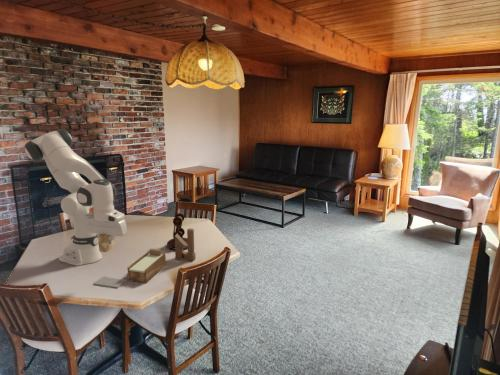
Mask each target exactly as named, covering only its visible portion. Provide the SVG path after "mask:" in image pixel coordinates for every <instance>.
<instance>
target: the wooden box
mask: <svg viewBox="0 0 500 375" xmlns="http://www.w3.org/2000/svg"><path fill="white" fill-rule="evenodd" d="M149 253H150V251H147V252H145V253H144V254H143V255H142V256H140V257H139V258H138V259H137V260H135V261H134V262H133V263H131V264H130V265H128V267H127V278H128V281H131V282H137V283H145V284H147V283H148V282H150V280H152V279H153V278H154V277H155V276H156V275H157V274H158V273H159V272H160V271H162V270H163V269H164V268H165V267H166V266H167V263H166V262H167V261H166V260H167V259H166V253H165V252H164V253H163V255H162V256H161V257H159V258H158V259H157V260H156V261H155V262H154V263H152V264H151V265H150V266H149V267H148V268H147V269H145V273H141V272H134V271H129V269H130V268H131V267H133V266H134V265H135V264H136V263H138V262H139V261H140V260H141V259H143V258H144V257H145V256H147V255H148V254H149Z"/></svg>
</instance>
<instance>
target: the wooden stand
mask: <svg viewBox="0 0 500 375" xmlns="http://www.w3.org/2000/svg"><path fill="white" fill-rule="evenodd" d="M186 232H187V233H186V236H187V237H186V238H187V242H188V244H187V243H186V242H185V241H184V240H183V239H182V238H181V237H180V236H179V235H178V234H176V235H175V249H174V251H175V252H174V253H175V254H174V255H175V256H174V258H175V260H177V261H178V260H180V261H181V260H183V261H188V262H189V261H191V262H194V261H195V260H196V252H195V229H194V228H188V229H187V231H186ZM185 248H186V249H185ZM184 249H185V250H187V251H184Z"/></svg>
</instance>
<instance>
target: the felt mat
mask: <svg viewBox="0 0 500 375" xmlns="http://www.w3.org/2000/svg"><path fill="white" fill-rule="evenodd" d="M126 282H127V280H126V279H121V278H114V277H107V276H102V277H100V278H99V279H97V280H96V281H95V282H93V285H94V286H100V287H108V288H112V289H119V288H120V287H121V286H122V285H124V284H125V283H126Z"/></svg>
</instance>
